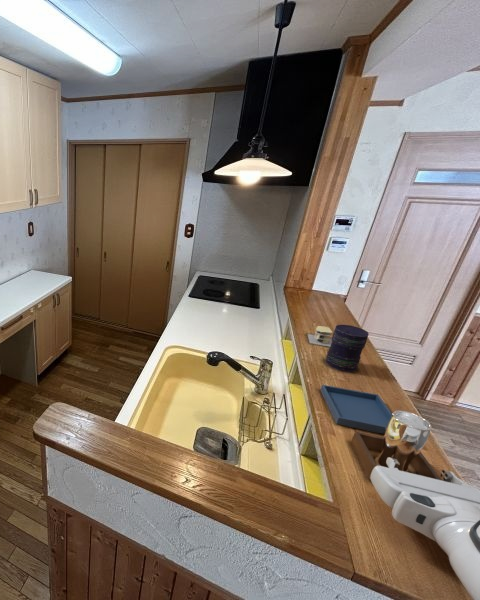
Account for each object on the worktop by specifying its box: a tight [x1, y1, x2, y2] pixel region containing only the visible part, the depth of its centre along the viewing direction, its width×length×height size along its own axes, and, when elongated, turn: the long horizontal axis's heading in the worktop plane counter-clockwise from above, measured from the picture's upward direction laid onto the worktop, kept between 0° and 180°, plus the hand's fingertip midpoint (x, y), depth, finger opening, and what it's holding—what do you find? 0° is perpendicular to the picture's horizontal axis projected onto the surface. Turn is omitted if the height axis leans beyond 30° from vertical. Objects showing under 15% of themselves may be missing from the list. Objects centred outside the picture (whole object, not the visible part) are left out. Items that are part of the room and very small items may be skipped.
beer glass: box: [374, 409, 433, 473], centre depth 78 cm, size 7×7×15 cm
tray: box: [320, 384, 393, 435], centre depth 99 cm, size 15×17×2 cm
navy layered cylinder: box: [324, 324, 369, 373], centre depth 122 cm, size 10×10×15 cm
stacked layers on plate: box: [306, 325, 333, 348], centre depth 142 cm, size 10×9×6 cm
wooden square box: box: [350, 431, 442, 481], centre depth 80 cm, size 13×13×4 cm
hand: (417, 466), depth 72 cm, fingers open, 8 cm apart
